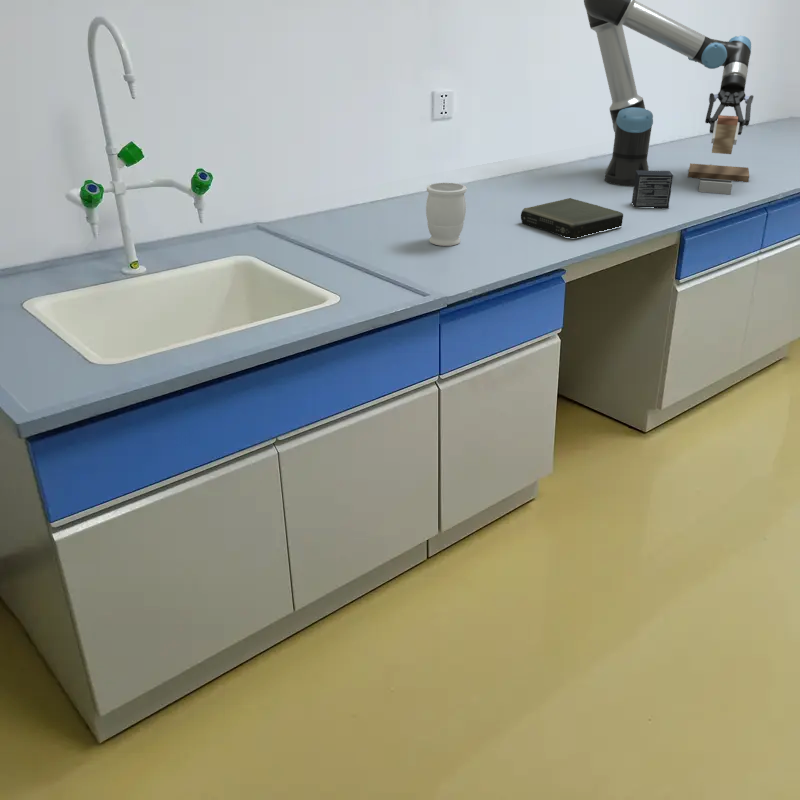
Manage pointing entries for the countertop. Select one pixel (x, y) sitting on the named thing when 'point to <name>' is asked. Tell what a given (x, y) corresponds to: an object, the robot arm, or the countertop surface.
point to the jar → (445, 212)
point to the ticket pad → (725, 134)
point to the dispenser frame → (715, 186)
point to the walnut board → (719, 172)
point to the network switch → (571, 218)
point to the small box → (652, 189)
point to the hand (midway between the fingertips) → (723, 141)
